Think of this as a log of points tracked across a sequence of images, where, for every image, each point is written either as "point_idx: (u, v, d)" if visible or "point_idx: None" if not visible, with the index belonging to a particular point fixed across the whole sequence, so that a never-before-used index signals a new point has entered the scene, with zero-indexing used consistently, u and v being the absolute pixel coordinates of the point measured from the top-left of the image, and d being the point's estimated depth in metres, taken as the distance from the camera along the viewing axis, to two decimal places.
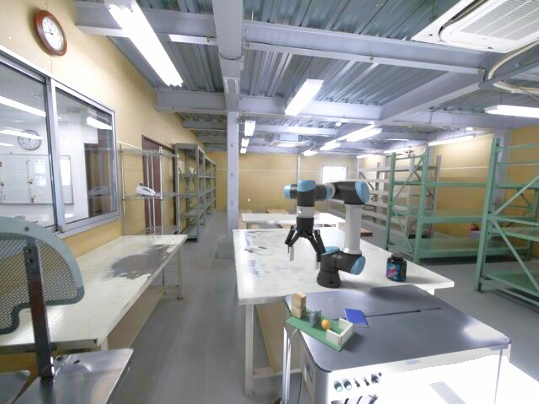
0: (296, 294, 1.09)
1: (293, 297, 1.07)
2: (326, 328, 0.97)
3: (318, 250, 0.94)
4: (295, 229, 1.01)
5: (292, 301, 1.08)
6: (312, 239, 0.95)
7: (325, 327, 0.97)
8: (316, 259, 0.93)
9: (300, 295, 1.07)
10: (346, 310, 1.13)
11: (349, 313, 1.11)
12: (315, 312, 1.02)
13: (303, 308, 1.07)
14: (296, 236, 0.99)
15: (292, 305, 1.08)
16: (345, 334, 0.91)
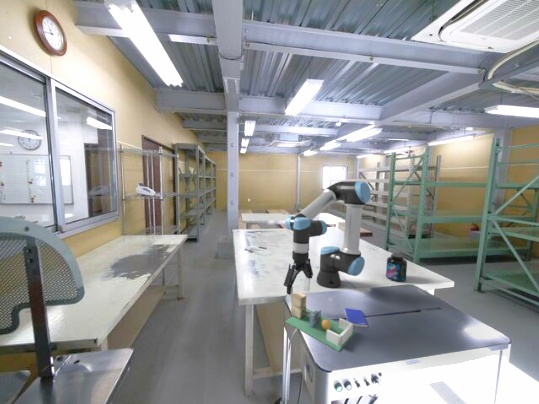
0: (296, 294, 1.09)
1: (293, 297, 1.07)
2: (326, 328, 0.97)
3: None
4: None
5: (292, 301, 1.08)
6: None
7: (325, 327, 0.97)
8: None
9: (300, 295, 1.07)
10: (346, 310, 1.13)
11: (349, 313, 1.11)
12: (315, 312, 1.02)
13: (303, 308, 1.07)
14: None
15: (292, 305, 1.08)
16: (345, 334, 0.91)
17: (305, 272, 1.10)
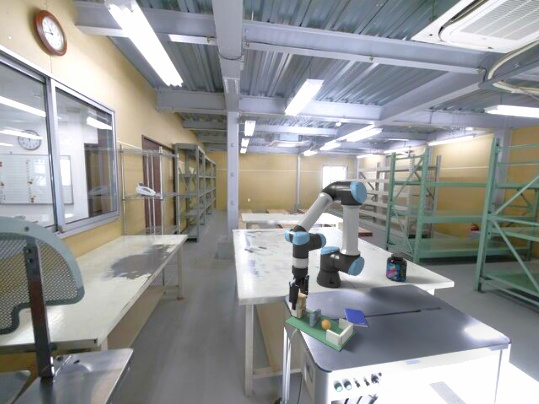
0: None
1: None
2: (326, 328, 0.97)
3: None
4: (304, 277, 1.11)
5: None
6: (295, 288, 1.06)
7: (325, 327, 0.97)
8: None
9: (300, 295, 1.07)
10: (346, 310, 1.13)
11: (349, 313, 1.11)
12: (315, 312, 1.02)
13: (303, 308, 1.07)
14: None
15: None
16: (345, 334, 0.91)
17: (302, 289, 1.09)
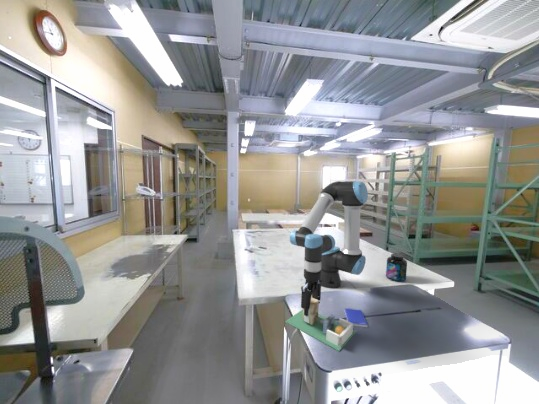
0: None
1: None
2: (335, 331, 0.94)
3: None
4: None
5: None
6: None
7: (335, 332, 0.94)
8: None
9: (312, 301, 1.03)
10: (346, 310, 1.13)
11: (349, 313, 1.11)
12: (329, 318, 0.97)
13: (315, 314, 1.03)
14: None
15: None
16: (345, 334, 0.91)
17: (314, 294, 1.05)
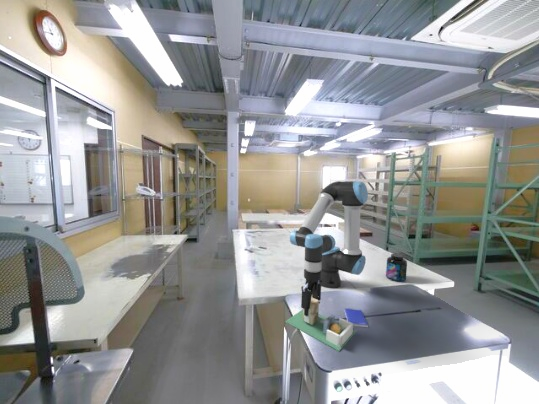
0: None
1: None
2: None
3: None
4: None
5: None
6: None
7: None
8: None
9: (313, 301, 1.03)
10: (346, 310, 1.13)
11: (349, 313, 1.11)
12: (329, 318, 0.97)
13: (316, 314, 1.03)
14: None
15: None
16: (345, 334, 0.91)
17: (314, 294, 1.05)
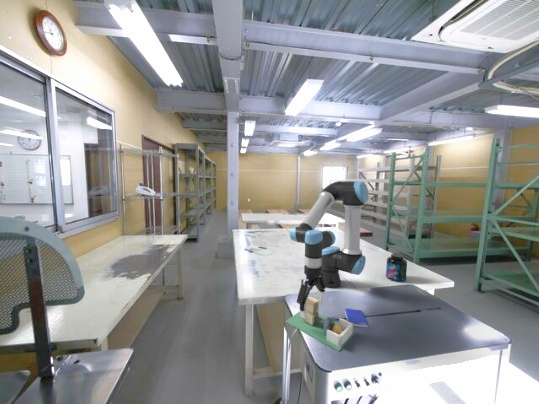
0: (308, 299, 1.04)
1: None
2: None
3: None
4: (318, 276, 1.06)
5: None
6: None
7: None
8: None
9: (313, 301, 1.03)
10: (346, 310, 1.13)
11: (349, 313, 1.10)
12: (329, 318, 0.97)
13: (316, 314, 1.03)
14: None
15: None
16: (345, 334, 0.91)
17: (318, 286, 1.07)
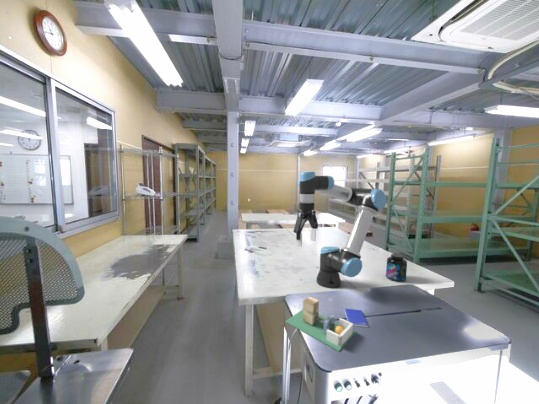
0: (308, 299, 1.04)
1: (305, 302, 1.03)
2: (335, 331, 0.94)
3: None
4: (311, 213, 1.21)
5: (304, 306, 1.03)
6: None
7: (335, 332, 0.94)
8: None
9: (313, 301, 1.03)
10: (346, 310, 1.13)
11: (350, 313, 1.10)
12: (329, 318, 0.97)
13: (316, 314, 1.03)
14: None
15: (304, 311, 1.03)
16: (345, 334, 0.91)
17: (311, 223, 1.21)
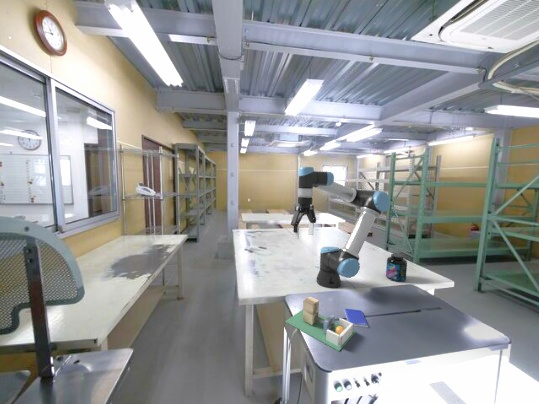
0: (308, 299, 1.04)
1: (305, 302, 1.03)
2: (335, 331, 0.94)
3: None
4: (309, 208, 1.24)
5: (304, 306, 1.03)
6: (299, 214, 1.18)
7: (336, 332, 0.94)
8: (294, 229, 1.17)
9: (313, 301, 1.03)
10: (346, 310, 1.13)
11: (350, 313, 1.10)
12: (329, 318, 0.97)
13: (316, 314, 1.03)
14: None
15: (304, 311, 1.03)
16: (345, 334, 0.91)
17: (309, 217, 1.24)
